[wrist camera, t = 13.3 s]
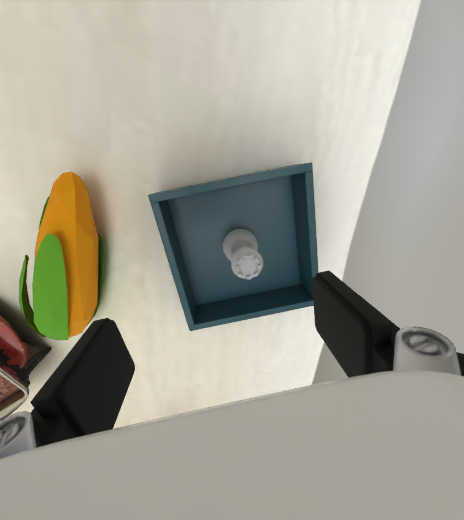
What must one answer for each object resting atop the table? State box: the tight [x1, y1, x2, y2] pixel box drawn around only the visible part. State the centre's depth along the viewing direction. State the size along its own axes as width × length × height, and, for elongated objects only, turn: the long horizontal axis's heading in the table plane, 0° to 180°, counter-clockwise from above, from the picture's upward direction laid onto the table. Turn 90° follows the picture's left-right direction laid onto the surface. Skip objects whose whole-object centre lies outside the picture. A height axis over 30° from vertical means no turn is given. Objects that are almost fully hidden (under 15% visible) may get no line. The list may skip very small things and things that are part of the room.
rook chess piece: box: [223, 229, 263, 280], centre depth 26 cm, size 4×4×8 cm
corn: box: [19, 172, 104, 340], centre depth 25 cm, size 7×8×20 cm
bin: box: [148, 163, 318, 331], centre depth 28 cm, size 17×17×5 cm
